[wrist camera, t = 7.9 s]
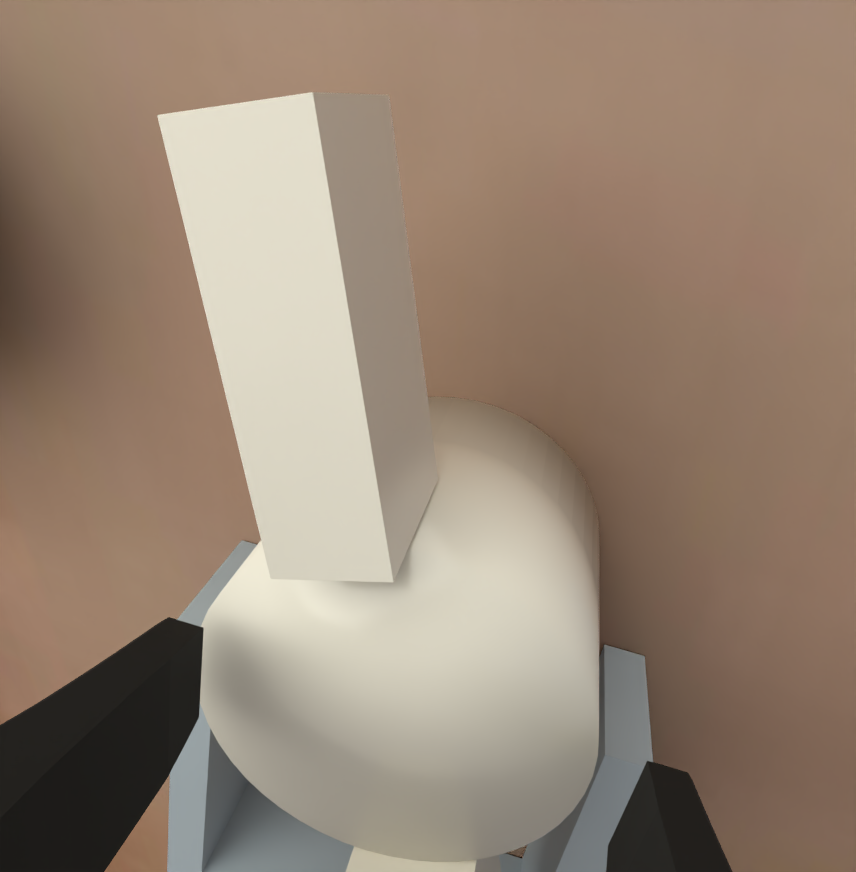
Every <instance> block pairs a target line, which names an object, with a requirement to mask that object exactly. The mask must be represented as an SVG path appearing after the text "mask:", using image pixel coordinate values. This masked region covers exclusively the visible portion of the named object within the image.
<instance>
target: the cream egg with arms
mask: <svg viewBox="0 0 856 872" xmlns="http://www.w3.org/2000/svg"><path fill="white" fill-rule="evenodd" d="M157 116H158V120H159V124H160V128H161V132H162V136H163V141H164V145H165V149H166V153H167V157H168V161H169V165H170V169H171V173H172V177H173V181H174V186H175V190H176V194H177V198H178V202H179V206H180V210H181V214H182V218H183V222H184V226H185V231H186V235H187V239H188V243H189V247H190V251H191V255H192V259H193V263H194V267H195V271H196V275H197V280H198V284H199V288H200V292H201V296H202V300H203V304H204V308H205V312H206V316H207V320H208V325H209V329H210V333H211V337H212V341H213V345H214V349H215V353H216V357H217V361H218V365H219V370H220V374H221V378H222V382H223V386H224V390H225V394H226V398H227V402H228V406H229V410H230V415H231V419H232V423H233V427H234V431H235V435H236V439H237V443H238V447H239V451H240V455H241V459H242V464H243V468H244V472H245V476H246V480H247V484H248V488H249V492H250V496H251V500H252V504H253V509H254V513H255V517H256V521H257V525H258V529H259V533H260V537H261V541H260V542H259V543H258V545H257V546H256V547H255V548H254V550H253V551H252V552H251V554H250V555H249V556H248V557H247V559H246V560H245V561H244V563H243V564H242V565H241V566H240V568H239V569H238V570H237V572H236V573H235V574H234V575H233V577H232V578H231V579H230V581H229V582H228V583H227V584H226V586H225V587H224V588H223V590H222V591H221V592H220V594H219V595H218V596H217V598H216V599H215V601H214V602H213V604H212V605H211V606H210V608H209V609H208V611H207V614H206V616H205V618H204V620H203V622H202V625H201V627H203V628H204V631H203V650H202V670H201V689H200V705H201V707H202V710H203V712H204V715H205V717H206V720H207V723H208V725H209V727H210V728H211V730H212V732H213V734H214V736H215V738H216V740H217V741H218V743H219V745H220V746H221V747H222V749H223V750H224V752H225V753H226V755H227V756H228V757H229V759H230V760H231V762H232V763H233V764H234V765H235V766H236V767H237V768H238V770H239V771H240V772H241V773H242V774H243V775H244V777H245V778H246V779H247V780H248V781H249V782H251V783H252V784H253V785H254V786H255V787H256V788H257V789H258V790H259V791H260V792H261V793H262V794H263V795H265V796H266V797H267V798H268V799H270V800H271V801H272V802H273V803H275V804H276V805H277V806H278V807H280V808H281V809H283V810H284V811H286V812H287V813H289V814H290V815H292V816H293V817H295V818H296V819H298V820H299V821H301V822H303V823H305V824H306V825H308V826H310V827H312V828H314V829H316V830H317V831H319V832H321V833H323V834H326V835H328V836H330V837H332V838H335V839H337V840H339V841H341V842H344V843H347V844H350V845H352V846H354V848H353V851H352V854H351V857H350V860H349V863H348V866H347V869H346V872H501V867H500V858H499V855H501V854H504V853H507V852H510V851H513V850H515V849H518V848H521V847H524V846H526V845H527V844H529V843H531V842H533V841H535V840H537V839H539V838H541V837H543V836H544V835H545V834H547V833H548V832H550V831H551V830H552V829H554V828H555V827H557V826H558V825H559V824H560V823H561V822H562V821H563V820H564V819H565V818H566V817H567V816H568V815H569V814H570V813H571V812H572V811H573V810H574V809H575V807H576V806H577V804H578V803H579V801H580V800H581V799H582V797H583V796H584V794H585V792H586V790H587V788H588V786H589V783H590V781H591V779H592V777H593V774H594V770H595V766H596V761H597V757H598V744H599V558H600V533H599V523H598V515H597V511H596V508H595V504H594V500H593V497H592V495H591V493H590V490H589V488H588V486H587V483H586V481H585V480H584V478H583V476H582V475H581V473H580V471H579V470H578V468H577V466H576V465H575V464H574V462H573V461H572V460H571V459H570V458H569V456H568V455H567V454H566V453H565V451H564V450H563V449H562V448H561V447H560V446H559V445H558V444H557V443H555V442H554V441H553V440H552V439H551V438H550V437H549V436H548V435H547V434H545V433H544V432H542V431H541V430H540V429H538V428H537V427H536V426H534V425H533V424H531V423H530V422H528V421H526V420H524V419H522V418H521V417H519V416H517V415H515V414H513V413H511V412H508V411H506V410H503V409H501V408H499V407H496V406H493V405H490V404H486V403H482V402H479V401H475V400H469V399H462V398H455V397H428V396H427V389H426V381H425V373H424V365H423V357H422V349H421V341H420V334H419V326H418V318H417V310H416V302H415V294H414V286H413V279H412V271H411V263H410V255H409V247H408V239H407V232H406V224H405V216H404V208H403V200H402V192H401V184H400V177H399V169H398V161H397V153H396V145H395V137H394V129H393V122H392V114H391V106H390V98H389V95H380V94H349V93H318V92H312V93H305V94H298V95H291V96H284V97H278V98H271V99H264V100H257V101H250V102H243V103H237V104H230V105H223V106H216V107H209V108H203V109H196V110H189V111H182V112H175V113H169V114H162V115H157Z"/></svg>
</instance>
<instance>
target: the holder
mask: <svg viewBox="0 0 856 872" xmlns="http://www.w3.org/2000/svg"><path fill="white" fill-rule="evenodd" d="M256 546H257V544H253V543H250V542H246V541H243V540H242V541H241V542H240V543H239V544H238V546H237V547H236V548H235V549H234V550H233V552H232V553H231V554H230V555H229V557H228V558H227V559H226V560H225V561H224V563H223V564H222V565H221V566H220V568H219V569H218V570H217V571H216V573H215V574H214V575H213V576H212V577H211V579H210V580H209V581H208V582H207V584H206V585H205V586H204V587H203V588H202V590H201V591H200V592H199V593H198V595H197V596H196V597H195V598H194V599H193V601H192V602H191V603H190V604H189V606H188V607H187V608H186V609H185V610H184V612H183V613H182V614H181V615H180V617H179V618H178V619H177V620H180V621H183V622H186V623H190V624H193V625H196V626H200V627H201V625H202V622H203V620H204V618H205V616H206V614H207V611H208V609H209V608H210V606H211V605H212V604H213V602H214V601H215V599H216V598H217V596H218V595H219V594H220V592H221V591H222V590H223V588H224V587H225V586H226V584H227V583H228V582H229V581H230V579H231V578H232V577H233V575H234V574H235V573H236V572H237V570H238V569H239V568H240V566H241V565H242V564H243V563H244V561H245V560H246V559H247V557H248V556H249V555H250V554H251V552H252V551H253V550H254V548H255V547H256ZM647 761H650V762H653V755H652V742H651V730H650V717H649V705H648V692H647V680H646V667H645V656H643V655H639V654H636V653H632V652H629V651H625V650H622V649H618V648H615V647H611V646H608V645H604V647H603V649H602V652H601V654H600V657H599V744H598V757H597V761H596V766H595V770H594V774H593V777H592V779H591V781H590V783H589V786H588V788H587V790H586V792H585V794H584V796H583V797H582V799H581V800H580V801H579V803H578V804H577V806H576V807H575V809H574V810H573V811H572V812H571V813H570V814H569V815H568V816H567V817H566V818H565V819H564V820H563V821H562V822H561V823H560V824H559V825H558V826H557V827H555V828H554V829H552V830H551V831H550V832H548V833H547V834H545V835H544V836H543V837H541V838H539V839H537V840H535V841H533V842H531V843H529V844H528V845H527V848H526V850H525V853H524V855H523V858H518V857H515V856H512V855H509V854H506V853H504V854H501V855H499V858H500V867H501V872H605V871H606V867H607V852H608V844H609V842H610V840H611V838H612V836H613V834H614V831H615V829H616V827H617V825H618V823H619V821H620V818H621V816H622V814H623V812H624V810H625V808H626V806H627V803H628V801H629V799H630V797H631V795H632V793H633V790H634V788H635V786H636V784H637V782H638V780H639V777H640V775H641V773H642V771H643V769H644V767H645V764H646V762H647ZM353 848H354V846H352V845H350V844H347V843H344V842H341V841H339V840H337V839H335V838H332V837H330V836H328V835H326V834H323V833H321V832H319V831H317V830H316V829H314V828H312V827H310V826H308V825H306V824H305V823H303V822H301V821H299V820H298V819H296V818H295V817H293V816H292V815H290V814H289V813H287V812H286V811H284V810H283V809H281V808H280V807H278V806H277V805H276V804H275V803H273V802H272V801H271V800H270V799H268V798H267V797H266V796H265V795H263V794H262V793H261V792H260V791H259V790H258V789H257V788H256V787H255V786H254V785H253V784H252V783H251V782H249V781H248V780H247V779H246V778H245V777H244V775H243V774H242V773H241V772H240V771H239V770H238V768H237V767H236V766H235V765H234V764H233V763H232V762H231V760H230V759H229V757H228V756H227V755H226V753H225V752H224V750H223V749H222V747H221V746H220V745H219V743H218V741H217V740H216V738H215V736H214V734H213V732H212V730H211V728H210V727H209V725H208V723H207V720H206V717H205V715H204V712H203V710H202V707H201V705H200V709H199V718H198V720H197V722H196V724H195V726H194V728H193V730H192V732H191V734H190V736H189V738H188V740H187V742H186V744H185V746H184V748H183V750H182V751H181V753H180V755H179V757H178V759H177V761H176V763H175V764H174V766H173V768H172V770H171V772H170V791H169V829H168V866H167V872H346V869H347V866H348V863H349V860H350V857H351V854H352V851H353Z"/></svg>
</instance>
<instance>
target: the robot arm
mask: <svg viewBox="0 0 856 872" xmlns="http://www.w3.org/2000/svg"><path fill="white" fill-rule="evenodd" d="M203 631H204V628H203V627H200V626H196V625H193V624H190V623H186V622H183V621H180V620H176V619H173V618H170V617H169V618H167V619H165V620H163V621H161V622H160V623H158V624H157V625H155V626H154V627H152V628H151V629H150V630H148V631H147V632H145V633H144V634H142V635H141V636H139V637H138V638H136V639H135V640H133V641H132V642H130V643H129V644H128V645H126V646H125V647H123V648H122V649H120V650H119V651H117V652H116V653H114V654H113V655H111V656H110V657H108V658H107V659H105V660H104V661H102V662H101V663H99V664H98V665H96V666H95V667H93V668H92V669H90V670H89V671H87V672H86V673H84V674H83V675H81V676H79V677H78V678H76V679H75V680H73V681H72V682H70V683H68V684H67V685H65V686H64V687H62V688H61V689H59V690H58V691H56V692H54V693H53V694H51V695H50V696H48V697H47V698H45V699H43V700H42V701H40V702H39V703H37V704H35V705H34V706H32V707H30V708H29V709H27V710H25V711H24V712H22V713H20V714H18V715H17V716H15V717H13V718H12V719H10V720H8V721H6V722H5V723H3V724H1V725H0V872H104V871H105V870H106V868H107V867H108V865H109V864H110V862H111V861H112V859H113V858H114V856H115V855H116V853H117V852H118V850H119V849H120V847H121V846H122V844H123V843H124V842H125V840H126V839H127V837H128V836H129V834H130V833H131V831H132V830H133V828H134V827H135V825H136V824H137V822H138V821H139V819H140V818H141V816H142V815H143V813H144V812H145V810H146V809H147V807H148V806H149V804H150V803H151V801H152V800H153V798H154V797H155V796H156V794H157V793H158V791H159V789H160V788H161V786H162V785H163V783H164V782H165V780H166V779H167V777H168V776H169V774H170V772H171V770H172V768H173V766H174V764H175V763H176V761H177V759H178V757H179V755H180V753H181V751H182V750H183V748H184V746H185V744H186V742H187V740H188V738H189V736H190V734H191V732H192V730H193V728H194V726H195V724H196V722H197V720H198V718H199V709H200V689H201V670H202V650H203ZM606 872H732V870H731V868H730V865H729V863H728V861H727V859H726V857H725V854H724V852H723V850H722V848H721V845H720V843H719V841H718V839H717V836H716V834H715V832H714V830H713V827H712V825H711V823H710V820H709V818H708V816H707V814H706V811H705V809H704V806H703V804H702V802H701V799H700V797H699V795H698V792H697V790H696V788H695V785H694V783H693V781H692V779H691V777H690V775H689V774H688V773H687V772H684V771H680V770H677V769H674V768H670V767H667V766H664V765H660V764H657V763H654V762H650V761H647V762H646V764H645V767H644V769H643V771H642V773H641V775H640V777H639V780H638V782H637V784H636V786H635V788H634V790H633V793H632V795H631V797H630V799H629V801H628V803H627V806H626V808H625V810H624V812H623V814H622V816H621V818H620V821H619V823H618V825H617V827H616V829H615V831H614V834H613V836H612V838H611V840H610V842H609V844H608V852H607V867H606Z"/></svg>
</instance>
